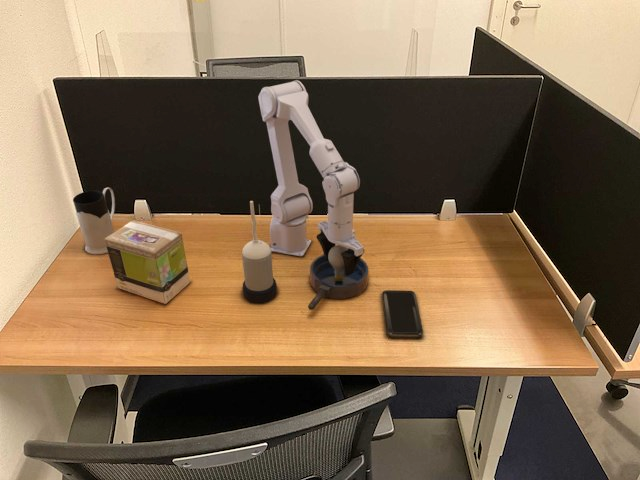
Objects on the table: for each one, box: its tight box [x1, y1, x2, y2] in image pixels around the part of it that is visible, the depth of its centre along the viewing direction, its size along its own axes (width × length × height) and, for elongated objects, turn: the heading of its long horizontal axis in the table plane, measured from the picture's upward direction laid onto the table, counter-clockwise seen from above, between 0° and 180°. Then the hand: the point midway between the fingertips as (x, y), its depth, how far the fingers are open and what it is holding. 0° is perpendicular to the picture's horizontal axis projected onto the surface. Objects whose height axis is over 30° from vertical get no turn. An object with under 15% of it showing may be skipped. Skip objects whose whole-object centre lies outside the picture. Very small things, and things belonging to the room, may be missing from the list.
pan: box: [309, 254, 369, 300], centre depth 125 cm, size 14×14×4 cm
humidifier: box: [241, 200, 278, 305], centre depth 116 cm, size 8×8×25 cm
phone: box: [381, 289, 424, 340], centre depth 115 cm, size 8×1×15 cm
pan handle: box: [307, 284, 331, 311], centre depth 117 cm, size 9×2×2 cm, turn 153°
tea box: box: [105, 219, 191, 305], centre depth 121 cm, size 15×10×15 cm, turn 65°
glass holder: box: [72, 187, 116, 255], centre depth 138 cm, size 9×14×15 cm, turn 167°
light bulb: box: [328, 244, 348, 281], centre depth 123 cm, size 6×5×10 cm
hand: (339, 266), depth 124 cm, fingers open, 7 cm apart
